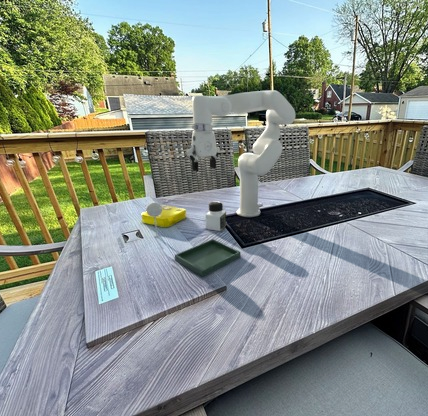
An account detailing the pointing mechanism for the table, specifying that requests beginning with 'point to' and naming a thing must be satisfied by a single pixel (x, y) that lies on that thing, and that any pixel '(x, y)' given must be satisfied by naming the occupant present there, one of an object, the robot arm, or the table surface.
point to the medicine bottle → (215, 216)
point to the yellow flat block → (165, 216)
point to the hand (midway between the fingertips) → (204, 169)
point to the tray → (207, 257)
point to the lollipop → (154, 211)
